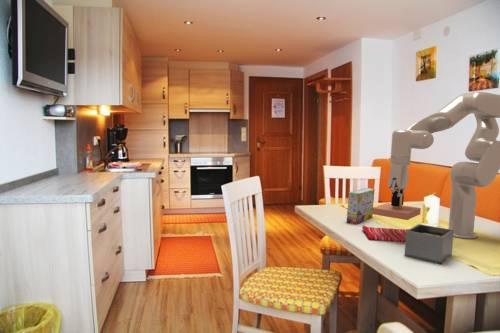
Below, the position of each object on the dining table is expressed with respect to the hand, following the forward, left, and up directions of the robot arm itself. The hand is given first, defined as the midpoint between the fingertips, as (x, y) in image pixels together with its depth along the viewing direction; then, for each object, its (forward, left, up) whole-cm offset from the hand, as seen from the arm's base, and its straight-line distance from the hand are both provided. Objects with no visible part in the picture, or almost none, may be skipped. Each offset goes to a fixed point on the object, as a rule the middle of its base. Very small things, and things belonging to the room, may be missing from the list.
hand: (397, 204), depth 157 cm
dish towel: (-1, -1, -14) cm, 15 cm away
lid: (0, 0, -4) cm, 4 cm away
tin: (+15, +17, -14) cm, 26 cm away
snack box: (-19, -24, -14) cm, 34 cm away
